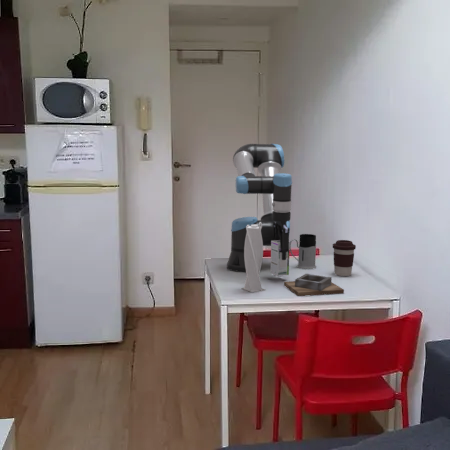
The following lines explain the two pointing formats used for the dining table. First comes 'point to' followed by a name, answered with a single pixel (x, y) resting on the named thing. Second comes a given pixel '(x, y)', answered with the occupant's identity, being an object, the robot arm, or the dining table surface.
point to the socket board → (313, 292)
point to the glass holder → (306, 251)
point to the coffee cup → (343, 257)
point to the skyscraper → (253, 258)
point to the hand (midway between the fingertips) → (279, 264)
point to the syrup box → (278, 260)
